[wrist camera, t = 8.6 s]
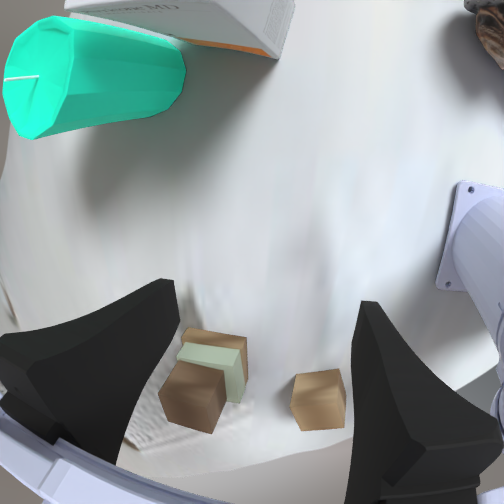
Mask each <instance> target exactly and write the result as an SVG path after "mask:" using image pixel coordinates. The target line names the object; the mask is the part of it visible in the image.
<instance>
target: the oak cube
mask: <svg viewBox="0 0 504 504" xmlns="http://www.w3.org/2000/svg"><path fill="white" fill-rule="evenodd" d="M290 409H291V411H292V413H293V415H294V417H295V419H296V422H297V424H298V426H299V428H300V430H301V431H312V430H326V429H337V428H344V424H345V410H346V392H345V388H344V385H343V381H342V377H341V373H340V370H339V369H333V370H326V371H318V372H310V373H302V374H296V378H295V383H294V388H293V393H292V397H291V402H290Z"/></svg>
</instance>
